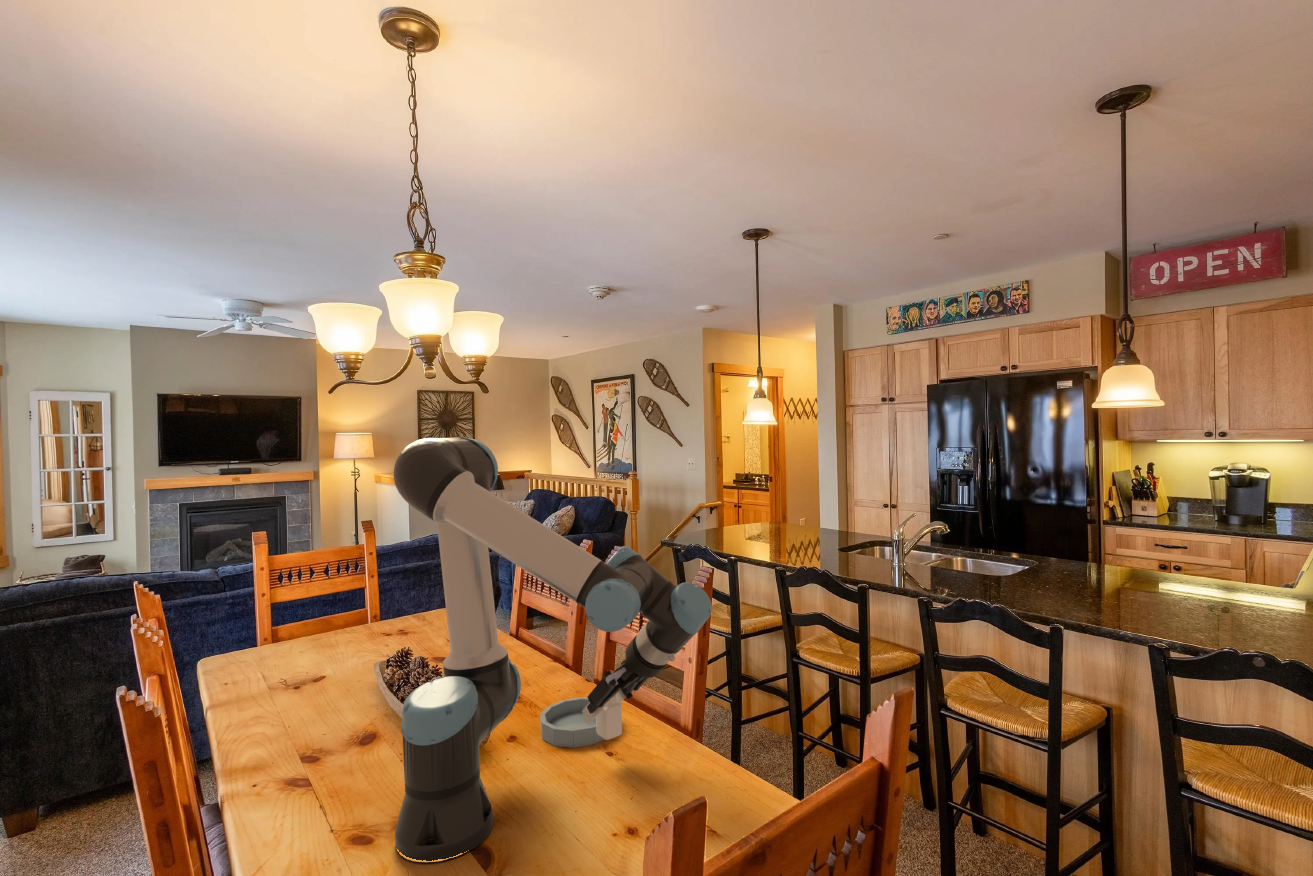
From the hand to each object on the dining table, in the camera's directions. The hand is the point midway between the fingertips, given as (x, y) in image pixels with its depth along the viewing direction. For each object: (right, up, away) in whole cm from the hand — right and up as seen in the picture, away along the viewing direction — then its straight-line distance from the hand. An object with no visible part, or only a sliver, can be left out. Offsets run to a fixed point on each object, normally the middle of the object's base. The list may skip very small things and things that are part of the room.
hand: (596, 712), depth 125 cm
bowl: (-5, -9, +12) cm, 16 cm away
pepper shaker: (+3, -3, -3) cm, 5 cm away
